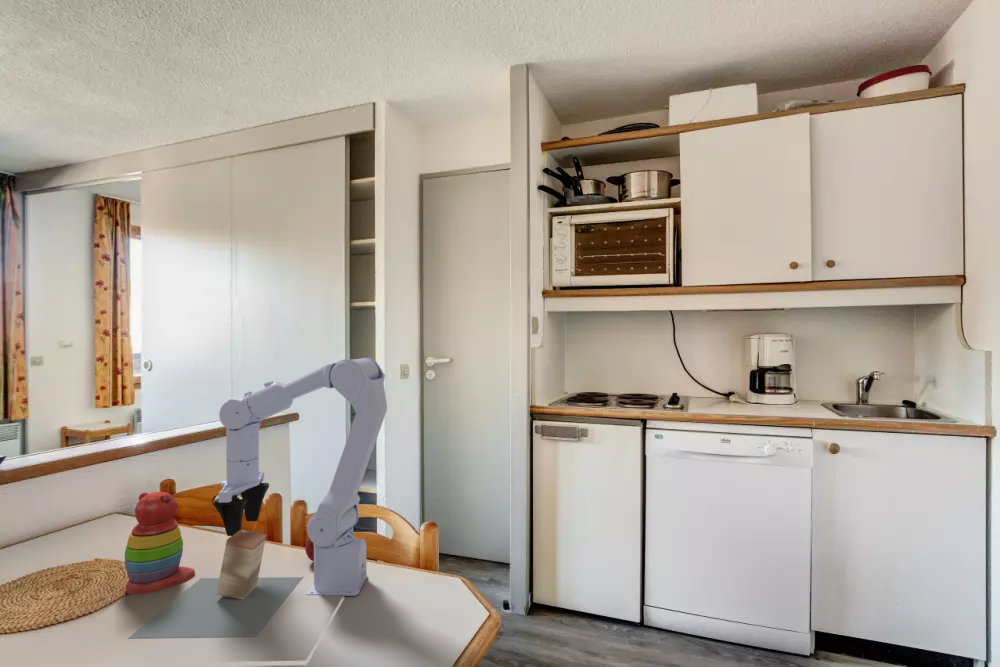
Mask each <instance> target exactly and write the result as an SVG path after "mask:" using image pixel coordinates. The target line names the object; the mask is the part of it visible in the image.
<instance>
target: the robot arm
mask: <svg viewBox="0 0 1000 667" xmlns="http://www.w3.org/2000/svg"><path fill="white" fill-rule="evenodd" d="M385 377H386V375H385V373H384V371H383V369H382V368H381V367H380V365H379V363H378V362H377V360H375V359H373V358H370V357H361V358H356V359H355V358H354V359H353V358H352V359H350V358H349V359H348V358H345V359H341V360H339V361H337V362H332V363H328V364H326V365H323V366H321V367H319V368H317V369H315V370H313V371H311V372H309V373H307V374H305V375H303V376H300V377H298V378H296V379H294V380H292V381H291V382H288V383H283V382H281V381H274V380H273V381H272V380H271V381H268V382H265V383H264V384H263V385H264V387H262V388H260V389H257V390H255V391H248V392H245V393H243V394H244V396H243V397H242V398H230V399H228V400H227V401H226V402H224V404H222V406H221V407H220V409H219V413H218V414H219V421H220V423H221V425H222V426H223V427H225V430H226V431H225V434H226V435H225V436H226V441H225V442H226V444H225V445H226V450H225V451H226V452H225V453H226V460H225V461H226V480H223V481H221V482H220V486H221V487H222V489H221V490H220V491H218V497H217V498H216V499H214V500H213V506H214V508H215V509H216V510H217V512H218V513H219V515H220V517H221V520H222V523H223V527H224V529H225V533H226V536H227V537H231V536H233V535H234V534H235V533H237V532H238V531H239V530H242V525H243V524H242V523H243V515H244V518H245V521H246V522H257V521H258V520H259V517H260V514H261V510H262V504H263V500H264V498H265V496H266V494H267V491H268V489H269V487H270V483H269V482H264V481H265V471H260V452H259V451H260V450H259V449H260V448H259V447H260V445H259V442H260V441H259V440H260V438H259V437H260V436H259V434H260V433H259V432H260V430H261V423H262V421H263V420H265V419H268V418H270V417H272V416H274V415H278V414H279V413H281V412H283V411H286V410H288V409H290V408H291V406H292V405H293V403H294V400H295V399H298V398H300V397H302V396H305V395H308V394H309V393H313V392H315V391H317V390H320V389H322V388H326V389H335V390H336V391H337V392H338V393H339V394H340V395H341V397H343V398H344V399H346V400H347V402H349V403H350V404H351V406H352V408H353V410H354V412H355V416H354V419H353V421H352V423H351V424H352V425H351V428H350V429H349V433H348V436H347V439H346V442H345V445H344V448H343V450H342V453H341V456H340V459H339V461H338V463H337V464H338V465H337V467H336V471H335V473H334V475H333V477H332V478H333V479H332V482H331V485H330V488H329V490H328V492H327V493H326V495H324V497H323V498H322V500H321V501H320V503H319V505H318V508H317V510H316V512H315V513H314V514H313V515H312V516H311V517H310V518H309V520H307V524H306V533H307V536H308V538H310V540H311V541H312V542H313V543H314V562H313V583H312V585H311V586H310V588H309V589H308V590H307V591H306V594H305V595H306V596H324V595H325V596H326V595H327V596H331V595H332V596H334V595H336V596H341V595H343V597H344V596H345V597H349V596H350V597H351V596H353V597H356V596H358V595H359V593H360V591H361V589H362V587H363V585H364V583H365V581H366V579H367V578H368V574H367V542H366V539H363V538H357V537H356V536H354V526H356V524H357V523H358V521H359V517H360V512H359V504H360V501H361V497H360V495H359V494H358V493H359V490H360V487H361V484H362V481H363V478H364V476H365V474H366V470H367V468H368V466H369V465H368V464H369V462H370V459H371V456H372V453H373V451H374V448H375V445H376V442H377V439H378V436H379V433H380V431H381V428H382V425H383V422H384V419H385V417H386V414H387V409H388V403H387V396H386V390H385V385H384V382H385ZM239 495H240V496H241V498H240V496H239Z"/></svg>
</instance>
